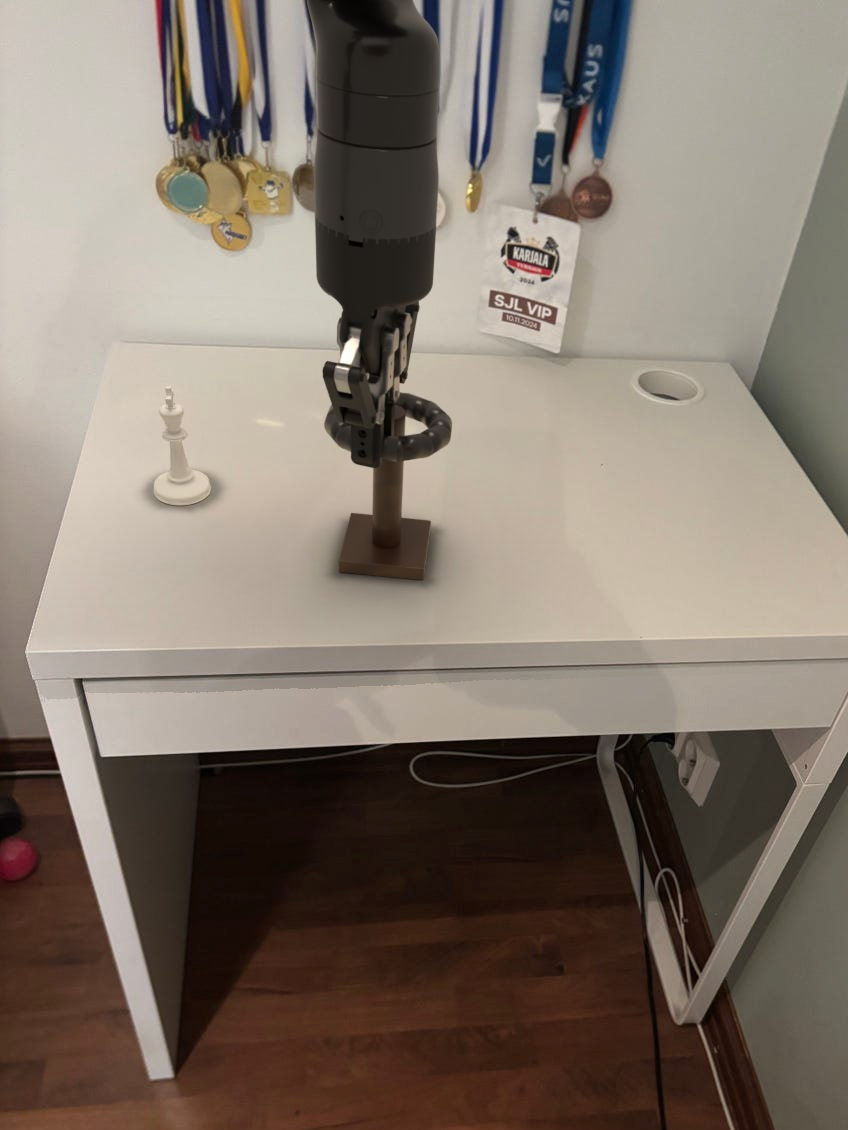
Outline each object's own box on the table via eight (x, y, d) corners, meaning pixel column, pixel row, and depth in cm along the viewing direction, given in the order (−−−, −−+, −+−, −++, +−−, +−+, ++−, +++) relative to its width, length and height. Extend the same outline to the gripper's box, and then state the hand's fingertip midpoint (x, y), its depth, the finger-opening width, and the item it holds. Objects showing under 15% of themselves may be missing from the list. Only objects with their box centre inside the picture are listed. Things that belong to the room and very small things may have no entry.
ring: (316, 457, 70) (316, 434, 68) (335, 402, 77) (335, 381, 76) (447, 471, 70) (449, 449, 69) (453, 415, 78) (455, 394, 76)
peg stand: (338, 572, 78) (336, 429, 70) (350, 523, 84) (350, 385, 75) (423, 580, 79) (432, 439, 70) (430, 531, 84) (439, 394, 75)
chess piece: (150, 505, 83) (132, 401, 76) (157, 474, 87) (141, 372, 80) (208, 505, 84) (196, 402, 77) (213, 475, 87) (201, 374, 81)
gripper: (356, 172, 65) (355, 404, 76) (274, 236, 54) (288, 493, 66) (463, 190, 64) (446, 422, 75) (400, 260, 53) (391, 516, 65)
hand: (372, 454), depth 70 cm, fingers closed on ring, 2 cm apart
